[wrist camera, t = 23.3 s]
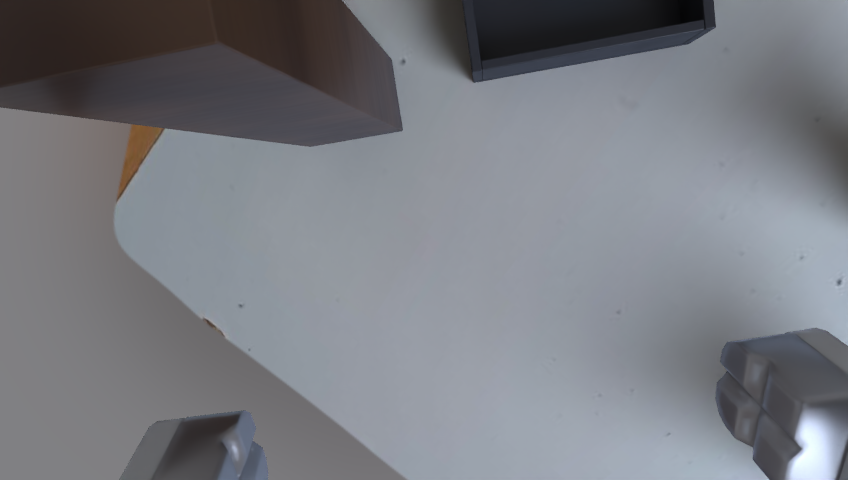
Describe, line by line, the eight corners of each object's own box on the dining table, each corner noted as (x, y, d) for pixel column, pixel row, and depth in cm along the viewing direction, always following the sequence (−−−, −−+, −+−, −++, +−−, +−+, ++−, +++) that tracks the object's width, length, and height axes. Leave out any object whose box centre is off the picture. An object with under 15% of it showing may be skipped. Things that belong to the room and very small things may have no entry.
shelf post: (309, 146, 38) (-62, 99, 12) (296, 77, 37) (-122, -130, 11) (403, 130, 37) (217, 42, 11) (391, 58, 36) (167, -210, 10)
